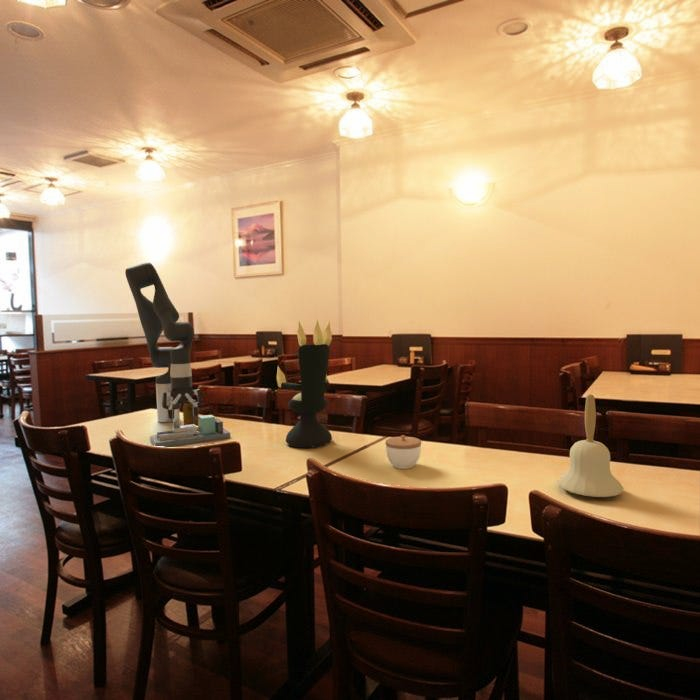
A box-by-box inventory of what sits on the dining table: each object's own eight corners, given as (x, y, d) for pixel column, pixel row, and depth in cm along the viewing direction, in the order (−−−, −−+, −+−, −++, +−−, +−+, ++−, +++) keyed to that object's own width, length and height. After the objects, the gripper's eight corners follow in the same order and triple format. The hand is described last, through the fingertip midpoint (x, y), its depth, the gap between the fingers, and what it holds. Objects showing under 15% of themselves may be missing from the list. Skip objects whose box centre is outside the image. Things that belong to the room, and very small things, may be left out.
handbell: (637, 501, 121) (639, 398, 119) (577, 505, 119) (578, 400, 117) (599, 480, 136) (600, 388, 134) (545, 483, 135) (546, 390, 133)
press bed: (150, 441, 190) (149, 425, 190) (221, 431, 204) (220, 416, 203) (155, 448, 179) (155, 432, 179) (230, 437, 193) (229, 422, 192)
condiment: (196, 426, 215) (195, 398, 214) (204, 429, 208) (203, 400, 208) (179, 428, 210) (178, 400, 209) (187, 432, 204) (185, 403, 203)
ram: (171, 434, 190) (169, 400, 189) (198, 431, 195) (196, 397, 194) (173, 436, 186) (171, 401, 185) (200, 433, 191) (199, 398, 190)
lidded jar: (385, 460, 158) (384, 431, 158) (419, 460, 158) (419, 430, 157) (386, 471, 148) (386, 440, 147) (423, 471, 147) (423, 439, 147)
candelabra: (324, 434, 195) (321, 318, 191) (349, 447, 175) (346, 318, 171) (277, 440, 187) (273, 319, 183) (297, 455, 167) (293, 319, 163)
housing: (199, 431, 196) (198, 416, 195) (212, 429, 198) (211, 414, 198) (202, 434, 191) (201, 418, 191) (215, 432, 194) (214, 416, 193)
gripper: (162, 377, 182) (165, 422, 183) (202, 374, 189) (204, 417, 190) (159, 375, 188) (161, 418, 190) (198, 373, 195) (199, 414, 197)
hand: (183, 418), depth 190 cm, fingers open, 8 cm apart
